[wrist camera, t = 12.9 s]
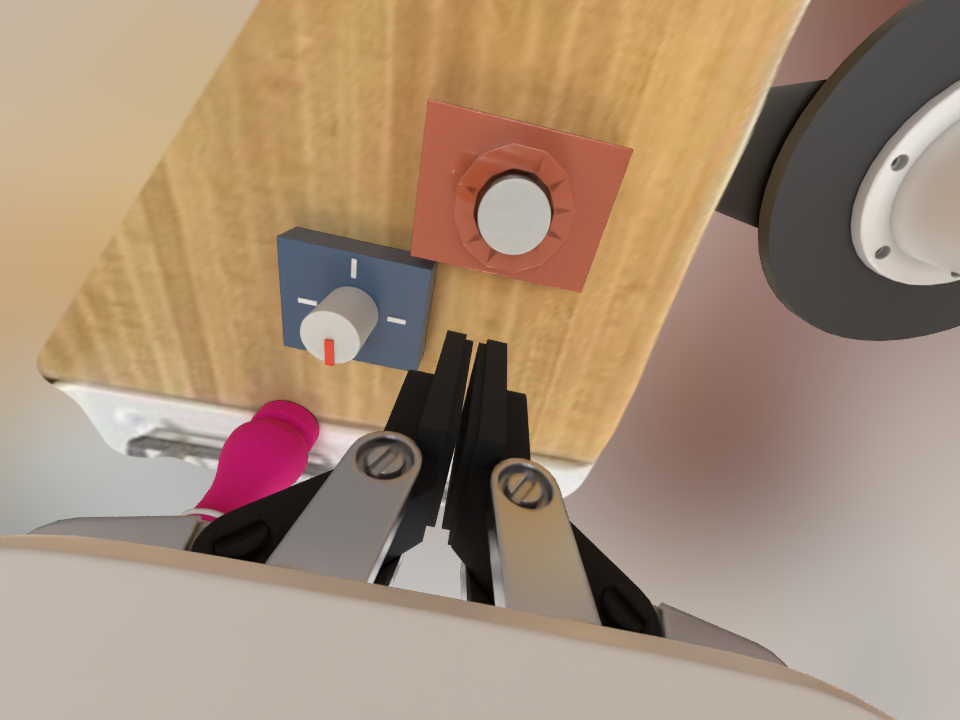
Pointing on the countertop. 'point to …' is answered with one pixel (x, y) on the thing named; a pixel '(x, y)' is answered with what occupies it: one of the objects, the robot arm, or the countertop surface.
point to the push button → (514, 214)
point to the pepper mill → (260, 458)
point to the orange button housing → (505, 151)
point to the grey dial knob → (339, 325)
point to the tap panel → (370, 267)
